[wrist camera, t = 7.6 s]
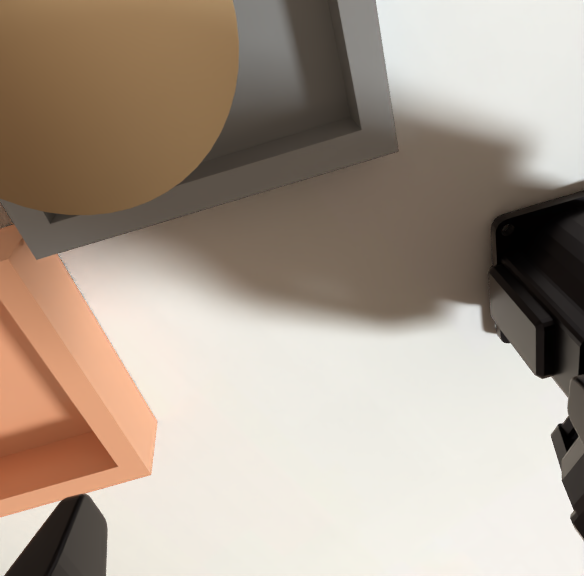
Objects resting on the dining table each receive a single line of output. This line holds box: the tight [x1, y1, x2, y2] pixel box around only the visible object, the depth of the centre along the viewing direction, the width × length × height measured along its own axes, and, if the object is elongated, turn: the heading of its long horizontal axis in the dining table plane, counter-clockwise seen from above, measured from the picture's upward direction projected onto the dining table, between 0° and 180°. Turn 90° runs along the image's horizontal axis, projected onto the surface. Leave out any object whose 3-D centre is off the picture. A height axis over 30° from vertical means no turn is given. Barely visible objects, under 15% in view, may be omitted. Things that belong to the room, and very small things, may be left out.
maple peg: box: [0, 0, 239, 215], centre depth 10 cm, size 4×4×10 cm
